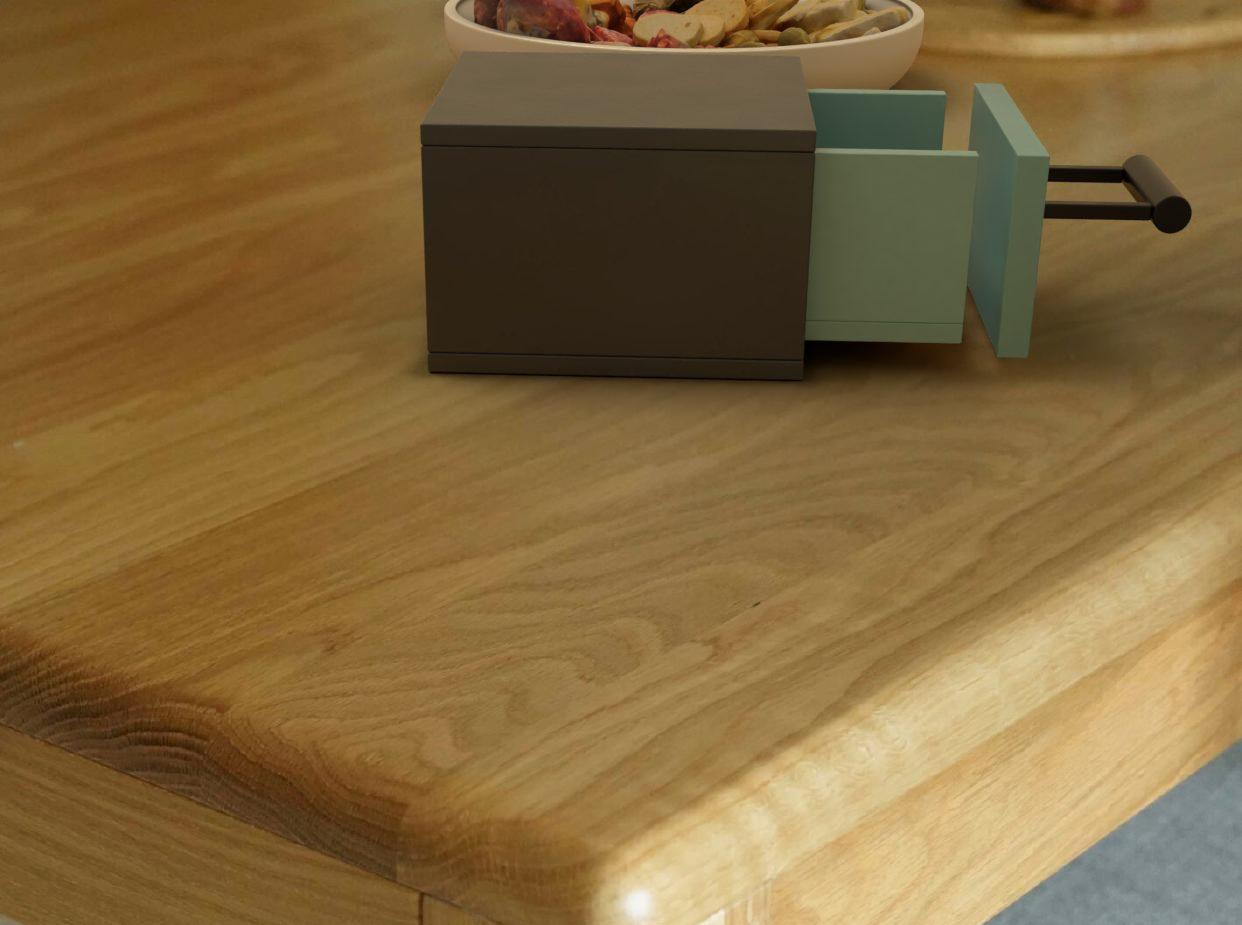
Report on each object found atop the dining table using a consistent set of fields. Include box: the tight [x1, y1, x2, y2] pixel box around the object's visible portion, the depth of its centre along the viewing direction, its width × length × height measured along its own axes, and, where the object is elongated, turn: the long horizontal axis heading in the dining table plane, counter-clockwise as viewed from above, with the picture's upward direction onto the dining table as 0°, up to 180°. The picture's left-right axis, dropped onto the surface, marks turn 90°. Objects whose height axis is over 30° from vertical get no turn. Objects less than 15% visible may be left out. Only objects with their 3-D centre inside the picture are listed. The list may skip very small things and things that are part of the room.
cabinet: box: [419, 51, 817, 381], centre depth 82 cm, size 15×15×10 cm
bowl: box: [443, 0, 926, 90], centre depth 126 cm, size 30×30×8 cm
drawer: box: [805, 82, 1193, 359], centre depth 81 cm, size 20×13×8 cm
